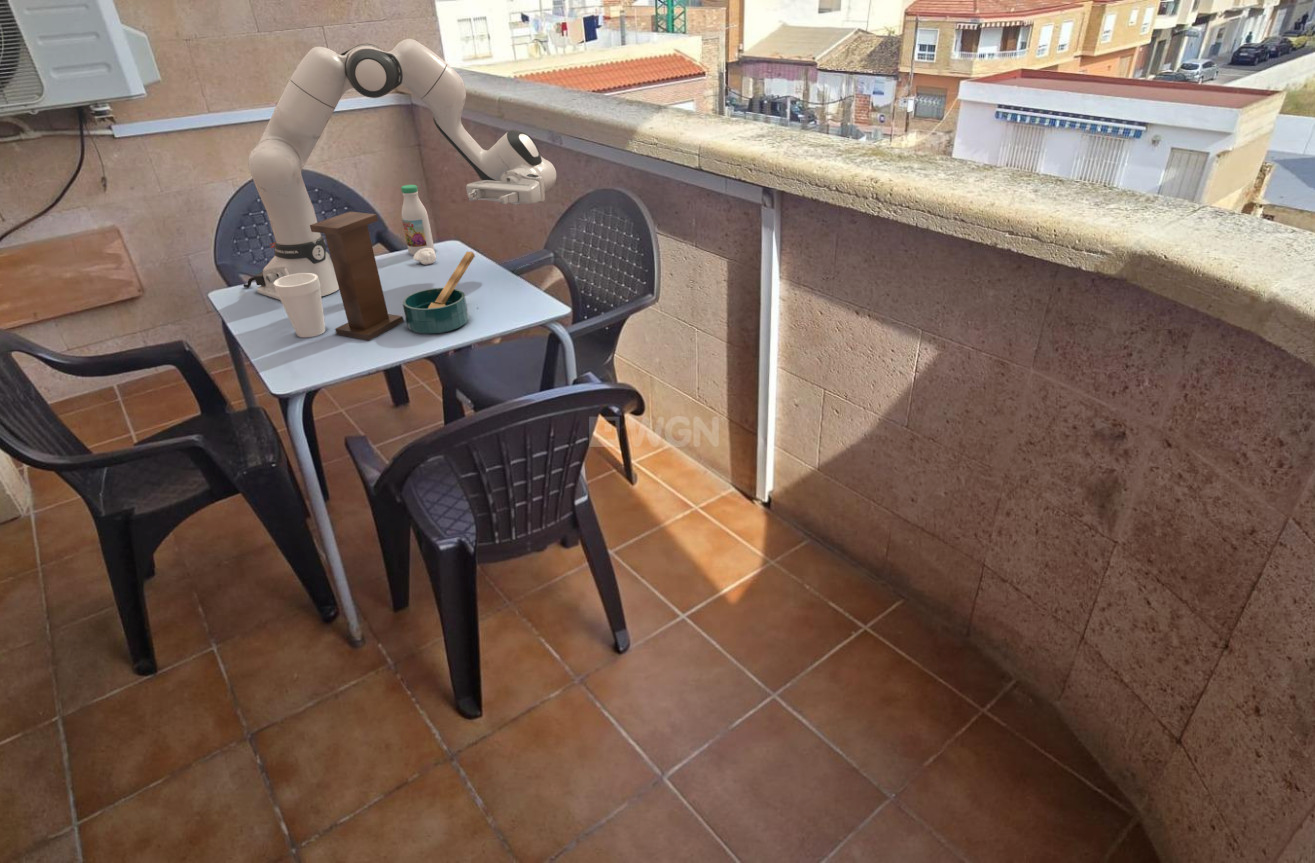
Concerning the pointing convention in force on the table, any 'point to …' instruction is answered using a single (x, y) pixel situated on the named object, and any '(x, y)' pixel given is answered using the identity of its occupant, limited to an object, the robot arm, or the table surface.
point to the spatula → (453, 280)
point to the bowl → (435, 311)
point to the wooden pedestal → (357, 275)
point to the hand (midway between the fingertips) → (486, 199)
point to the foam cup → (302, 302)
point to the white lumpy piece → (425, 256)
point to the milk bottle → (415, 221)
